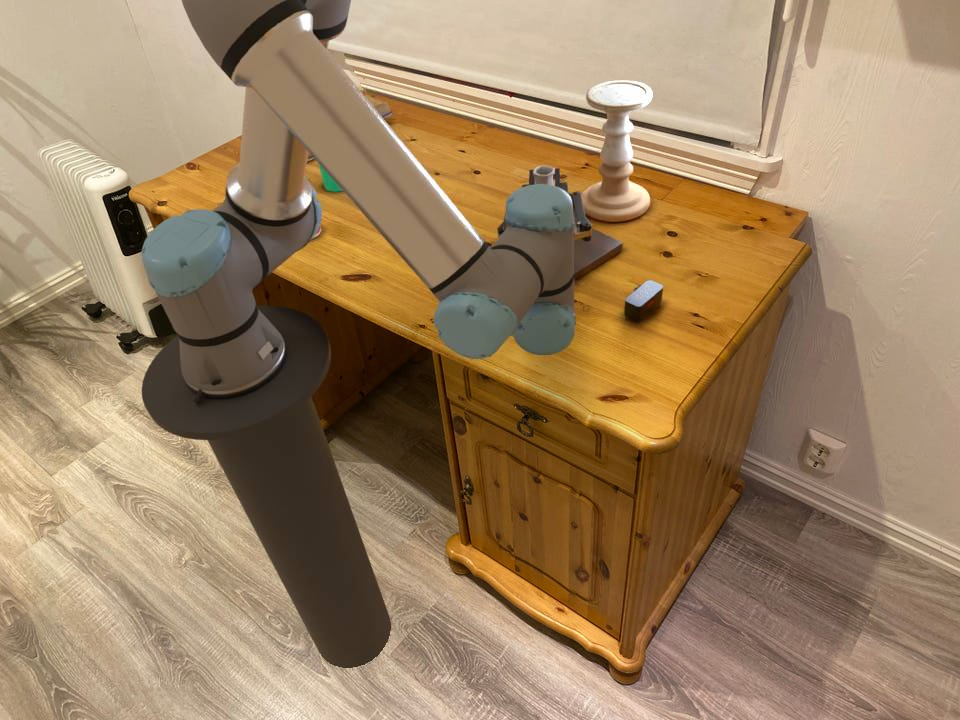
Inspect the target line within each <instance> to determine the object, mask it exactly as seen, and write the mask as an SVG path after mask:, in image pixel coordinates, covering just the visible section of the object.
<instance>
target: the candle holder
mask: <svg viewBox="0 0 960 720" xmlns="http://www.w3.org/2000/svg"><path fill="white" fill-rule="evenodd" d="M652 98H653V91H652V89H651V87H650V86H648V85H647V84H645V83H642V82H639V81H635V80H627V79H625V80H623V79H617V80H610V81H609V80H608V81H604V82H600V83H598V84H595V85H593V86H592V87H590V88H589V89H588V90H587V92H586V94H585V100H586V103H587V105H589V106H590V107H591V108H593V109H595V110H598V111H601V112H604V113H605V114H606V116H607V117H606V118H607V119H606V121H605V122H604V123H603V124H602V127H601V129H602V133H604V134H605V135H604V141H603V144H602V147H601V150H600V153H599V158H600V160H601V162H602V163H601V164H600V165H599V166H598V173H599V175H600V176H601V177H602V179H601V181H598V182H596V183H594V184H591V185H590V186H588V187H587V188H585V189H584V190H583V191H582V193H580V194H581V199H582V203H583V208H584V212H585V215H586V216H588V217H590V218H592V219H595V220H598V221H603V222H614V223H616V222H617V223H618V222H626V221H630V220H634V219H637V218H639V217H640V216H642V215H643V214H645V213H646V212H647V211H648V209H649V207H650V205H651V196H650V194H649V192H648V190H647V189H645V188H644V187H643V186H641V185H639V184H637V183H635V182H632V181H630V176H631V175H632V174H633V173H634V166H633V164H631V161H632V160H633V158H634V150H633V147H632V144H631V143H632V142H631V139H630V133H631V132H633V130H634V125H633V123H632V122H631V121H630V119H629V117H630V114H631V113H632V112H633V111H637V110H639V109H642V108H645V107H646V106H648V105H649V103H651V102H652Z"/></svg>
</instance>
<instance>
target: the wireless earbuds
mask: <svg viewBox="0 0 960 720" xmlns="http://www.w3.org/2000/svg"><path fill="white" fill-rule="evenodd" d="M663 293H664V285H663V284H661V283H658V282H656V281H654V280H651V279H649V280H646V281H645V282H644V283H642V284H640V285H638V286H637V287H635V288H634V289H633V291H632V293H630V294H629V295H628V296H626V298H625V299H624V308H623V309H624V310H623V311H624V312H623V316H624V317H625V318H626V319H628V320H630V321H632V322H635V323H640V322H641V321H643V320H644V319H645V318H646V317H647V316H648V315H650V314H651V313H652V312H653V311H654V310H655V309H657V308H658V307H659V306H660V305H661V304H662V302H663Z"/></svg>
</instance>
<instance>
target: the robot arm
mask: <svg viewBox="0 0 960 720" xmlns="http://www.w3.org/2000/svg"><path fill="white" fill-rule="evenodd" d="M181 2H182V6H183V8H184V11H185V13H186V15H187V18H188V20H189V22H190V25H191V27H192V29H193V30H194V31H195V34H196V35H197V37H198V39H199V40H200V43H201V44H202V46H203V47H204V49H205V50H206V52H207V53H208V55H209V56H210V57H211V59H212V60H213V61H214V63H215V64H216V65H217V66H218V68H220V69H221V71H223V74H225V75H226V77H228V79H229V80H230V81H231V83H233V84H234V85H235V86H236V87H243V88H245V89H244V91H245V92H244V104H243V114H242V125H241V126H242V128H241V139H240V140H241V141H240V153H239V162H238V163H236V164H235V165H234V166H233V167H231V169H230V170H229V172H228V174H227V176H226V181H225V195H224V200H223V202H222V203H221V204H219V205H218V206H216V207H215V208H214V209H212V210H211V209H205V208H196V209H195V208H194V209H189V210H186V211H183V213H182V214H180V215H178V214H174V215H172V216H170V217H168V218H167V219H165V220H163V221H162V222H161V223H160V224H158V225H157V226H155V227H154V229H153V230H152V231H150V233H149V234H148V235H147V236H146V238H145V240H144V242H143V245H142V248H141V262H142V265H143V268H144V270H145V273H146V276H147V280H148V283H149V285H150V287H151V288H152V290H153V291H154V292H155V294H156V296H157V298H158V300H159V303H161V306H162V308H163V310H164V312H165V314H166V316H167V318H168V320H169V322H170V324H171V326H172V328H173V330H174V332H175V333H176V337H177V336H178V338H179V344H180V361H181V371H182V376H183V378H184V380H185V382H186V384H187V386H188V387H189V389H190V390H191V391H192V392H194V393H195V394H196V396H195V398H194V400H193V401H194V402H196V403H199V404H200V402H201V400H202V398H203V397H204V398H209V399H230V398H235V397H239V396H243V395H246V394H248V393H251V392H253V391H255V390H257V389H259V388H261V387H263V386H264V385H266V384H267V383H268V382H270V381H271V380H272V379H273V378H274V377H275V376H276V375H277V374H278V373H279V372H280V370H281V369H282V367H283V366H284V364H285V361H286V358H287V349H286V345H285V343H284V340H283V338H282V336H281V334H280V333H279V332H278V330H277V329H276V328H275V327H274V326H273V325H272V324H271V323H270V322H269V320H268V319H267V318H266V317H265V316H264V315H263V314H262V313H261V312H260V311H259V309H258V307H257V306H258V304H257V302H256V298H255V296H254V294H253V289H254V288H255V287H257V286H258V285H259V284H260V283H261V282H262V281H264V280H265V279H266V278H267V277H268V276H269V275H270V274H272V273H273V272H275V270H277V269H278V268H279V267H280V266H281V265H282V264H285V262H286V261H287V260H289V259H290V258H291V257H292V256H293V255H295V254H296V253H297V252H299V251H300V250H302V249H304V248H305V247H306V246H307V245H308V243H310V242H311V241H312V240H313V239H312V237H313V236H314V235H315V234H316V233H317V231H318V229H319V227H320V226H321V224H322V219H323V210H322V205H321V202H320V201H319V200H317V199H316V198H317V197H318V194H317V192H316V189H315V188H314V187H313V184H311V182H310V181H309V179H308V178H307V176H306V175H305V174H306V171H307V165H308V161H307V160H308V154H309V153H310V154H311V155H312V156H313V157H314V159H313V160H315V161H316V162H317V164H318V163H319V164H320V165H321V166H322V168H323V169H324V170H325V171H326V172H327V173H328V174H329V176H330V177H331V178H332V179H333V180H334V181H335V182H336V184H337V185H338V186H339V187H340V188H341V189H342V190H343V191H342V192H343V193H344V194H345V196H347V197H348V199H349V200H351V202H352V203H353V204H354V205H355V206H356V208H357V209H358V210H359V211H360V212H361V214H363V215H364V217H365V218H366V219H367V220H368V221H369V222H370V224H371V225H372V226H373V227H374V228H375V230H377V232H378V233H379V234H380V235H381V236H382V237H383V238H384V239H385V241H386V242H387V243H388V244H389V246H390V247H392V249H393V250H394V251H395V252H396V253H397V254H398V255H399V257H400V258H401V259H402V260H403V261H404V262H405V264H406V265H407V266H408V267H409V268H410V269H411V270H412V271H413V272H414V274H415V275H416V276H417V277H418V279H419V280H421V281H422V283H423V284H424V285H425V286H426V287H427V289H428V290H429V291H430V292H431V293H432V295H433V296H434V297H435V299H437V301H438V305H437V307H436V309H435V312H434V314H433V324H434V327H435V328H436V330H437V332H438V334H437V335H438V337H439V339H440V340H441V341H442V343H443V344H444V345H445V346H446V347H447V348H448V349H450V350H451V351H453V352H454V353H455V354H457V355H459V356H462V357H464V358H467V359H471V360H483V359H487V358H490V357H492V356H493V355H495V354H496V353H497V352H498V350H499V349H500V348H501V347H502V346H503V345H504V344H505V343H506V342H507V341H508V339H509V338H511V337H513V339H514V341H515V343H516V344H517V345H518V347H520V349H522V350H523V351H525V352H527V353H529V354H531V355H535V356H552V355H556V354H559V353H561V352H562V351H564V350H565V349H567V348H568V347H569V346H570V345H571V343H572V342H573V340H574V338H575V334H576V332H575V331H576V324H577V321H576V320H577V317H576V311H575V308H576V307H575V304H576V303H575V281H574V243H575V240H577V239H580V238H582V239H583V240H584V241H590V240H591V228H592V226H593V225H592V222H590V221H589V219H587V217H586V214H585V212H584V208H583V203H582V199H581V194H582V193H581V192H580V191H573V192H572V193H570V192H569V186H568V182H567V181H565V182H561V168H559V167H556V168H555V167H554V168H555V170H554V186H550V185H546V184H535V177H534V176H533V171H534V169H529V171H528V172H529V174H528V184H522V185H521V187H520V188H517V189H515V191H512V193H510V195H509V196H508V197H507V199H506V202H505V212H504V216H503V221H502V222H501V223H500V225H499V226H498V227H497V239H496V240H495V241H494V242H493V243H492V244H491V246H490V245H489V244H488V243H487V242H486V241H485V240H484V238H482V236H481V235H480V234H479V233H478V232H477V230H476V229H475V228H474V227H473V225H472V224H471V223H470V222H469V221H468V219H467V218H466V216H464V214H463V213H462V212H461V211H460V210H459V209H458V207H457V206H456V205H455V203H454V202H453V201H452V200H451V198H450V197H449V196H448V195H447V194H446V192H445V191H444V190H443V189H442V188H441V186H439V184H438V182H436V180H435V179H434V178H433V177H432V175H431V174H430V173H429V172H428V171H427V169H426V168H425V167H424V166H423V165H422V164H421V163H420V161H419V160H418V159H417V158H416V156H415V155H414V154H413V153H412V151H411V150H410V149H409V148H408V146H406V144H405V143H404V142H403V140H402V139H401V138H400V137H399V136H398V134H397V133H396V132H395V131H394V129H393V128H392V127H391V126H390V125H389V123H387V121H386V120H385V118H384V119H383V118H382V116H381V115H380V114H379V113H378V111H377V110H376V109H375V108H374V107H373V105H372V104H371V103H370V102H369V101H368V99H367V98H366V97H365V96H364V94H365V93H364V92H362V91H361V89H360V88H359V87H358V86H357V85H356V84H355V82H354V81H353V80H352V79H351V77H350V76H349V75H348V74H347V72H346V71H345V70H344V69H343V68H342V66H341V65H340V64H339V63H338V61H337V60H336V59H335V58H334V57H333V56H332V54H331V53H330V51H329V50H328V48H329V43H330V41H332V40H334V39H336V38H338V37H339V36H340V35H342V33H343V32H344V31H345V29H346V27H347V24H348V23H347V22H348V18H349V13H350V8H351V3H352V0H181ZM363 93H364V94H363ZM319 164H318V165H319ZM574 220H575V222H574ZM575 225H576V226H575Z"/></svg>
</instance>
